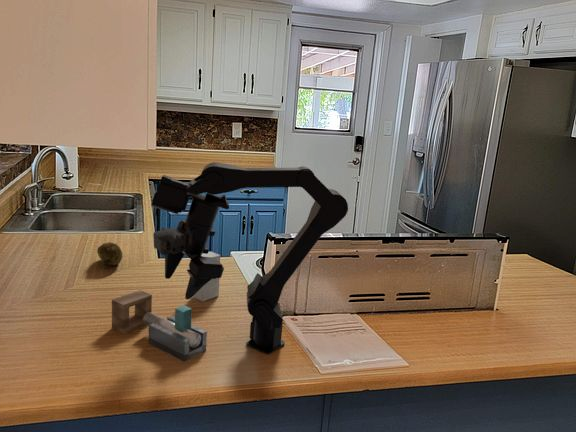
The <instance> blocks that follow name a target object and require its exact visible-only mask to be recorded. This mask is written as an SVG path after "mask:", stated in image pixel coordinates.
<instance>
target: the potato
mask: <svg viewBox="0 0 576 432" xmlns="http://www.w3.org/2000/svg"><path fill="white" fill-rule="evenodd" d="M96 251H97V252H96V253H97V256H98V257H99V258H100V260H101V261H102V262H103V264H105V265H110V266H111V265H112V266H116V265H118V264H120V263H121V261H122V259H123V256H124V255H123V251H122V249H121V247H120V246H119V245H118V244H117V243H113V242H105V243H103V244H101V245H100V246H98V247H97V249H96Z"/></svg>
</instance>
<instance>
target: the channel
mask: <svg viewBox="0 0 576 432" xmlns="http://www.w3.org/2000/svg"><path fill="white" fill-rule="evenodd" d="M166 319H167V320H169V321H171V322H174V323H175V316H174V315H169V316H167V317H166ZM189 330H191V331H194V332H196V333H198V334H200V335H201V342H200V344H199V345H198V346H197V347H196V348H193V347H190V346H189V339H186V338H184V337H182V336H180V335H178V334H176V333H174V332H171V331H169V330H167V329H165V328H163V327H161V326H158V325H156V324H154V323H152V324H150V325H149V327H148V340H147V341H148V345H150V346H152V347H154V348H156V349H158V350H160V351H162V352H164V353H166V354H167V355H170V356H172V357H173V358H176V359H178V360H180V361H182V362H184V363H185V362H187V361H189V360H190V359H192V358H195V357H196V356H199V355H200V354H201V353H204V352H205V351H207V342H208V341H207V338H208V331H207V330H205V329H202V328H200V327H198V326H196V325H193V324H192V323H191V328H190V329H189Z"/></svg>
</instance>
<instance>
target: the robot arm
mask: <svg viewBox="0 0 576 432" xmlns="http://www.w3.org/2000/svg"><path fill="white" fill-rule="evenodd" d="M249 188H256V189H257V188H302V189H303V190H304V191H305V192H306V193H307V194H308V195H309V197H311V198H312V199H313V201H314V202H313V203H312V206H311V208H310V210H309V214H308V217H307V220H306V222H305V223H304V225H302V227H301V228H300V230H299V231H298V232H297V234H296V235H295V236H294V237H293V239H292V240H291V242H290V243H289V244H288V245H287V248H285V250H284V252H282V254H281V255H280V257H279V258H278V259H277V260H276V262H275V263H274V265H273V266H272V267H271V269H270V271H268V272H267V273H265V274H264V275H261V274H260V273H256V274H255V277H254V278H253V279H252V281H251V283H249V284H248V285H247V286H246V287H247V288H246V289H247V292H246V305H247V307H246V308H247V312H248V313H249V315H250V316H251V317H252V318H251V322H250V325H249V326H250V328H249V340H248V341H245V342H246V343H245V345H246V346H249V347H250V348H253V349H255V350H258V351H260V352H262V353H264V354H266V355H269V354H271V353H273V352H275V351H277V350H278V349H280V348H281V347H283V346H285V343H286V341H284V340H282V337H283V324H284V323H283V322H284V319H283V314H282V309H281V306H280V303H279V301H280V297H281V295H282V291H283V289H284V287H285V285H286V284H287V283H288V281H289V280H290V278H292V275H293V274H294V273H295V272H296V271H297V269H298V268H299V266H300V265H301V263H302V262H303V261H304V259H306V257H307V255H308V254H309V253H310V252H311V251H312V249H313V248H314V247H315V245H316V244H317V242H318V241H319V239H320V238H321V237H322V236H323V235H324V234H325V233H327V232H329V231H330V230H331V229H333V228H334V227H336V226H337V225H338V224H339V223H340V222H341V221H342V220H343V219H344V218H345V217H346V215H348V212H349V205H348V202H347V200H346V198H345V197H344V196H343V195H342V194H340V193H339V192H338V191H337V190H335V189H332V188H328V187H327V186H325V184H324V183H323V182H322V181H321V180H320V179H318V177H317V176H316V175H315V173H314V172H313V171H312V170H311V169H310V168H309V167H308V166H304V165H303V166H299V167H243V166H237V165H234V164H228V163H223V162H217V161H215V162H209V163H208V164H207V165H205V166H204V167H203V168H202V170H201V173H200V175H198V176H197V177H195V178H193V179H191V180H190V181H188V183H186V182H183V181H180V180H177V179H175V178H172V177H171V176H168V175H165V174H163V175H162V176H161V178H160V180H159V184H158V186H157V188H156V190H155V191H154V195H153V198H152V201H151V205H150V206H151V207H152V208H156V209H159V210H162V211H166V212H169V213H172V214H175V215H179V214H182V212H186V209H187V207H188V204H189V201H190V198H191V199H192V200H191V201H190V202H191V203H190V206H189V209H188V212H187V215H186V218H185V220H184V219H180V221H179V222H178V225H177V227H171V228H170V227H169V228H166V227H163V228H162V229H160V230H156V231H154V232H153V248H154V249H156V250H157V251H158V252H159V254H160V255H162V256H164V278H165V279H168V280H170V279H171V277H172V276H173V275H174V273H175V271H176V270H177V268H178V267H179V264H180V263H181V261H182V260H183V258H184V256H185V255H186V256H187V257H188V258H189V259H190V261H189V264H188V266H189V267H188V269H186V271H187V274H188V275H189V279H188V282H187V283H188V284H187V288H186V291H185V296H184V298H185V299H186V300H190V299H192V298H194V297H193V296H194V295H195V294H196V293H197V292H198V291H199V290H200V289H201V288H202V287H203V286H204V285H205V284H206V283H208V282H209V281H210V280H211V279H216V278H219V279H221V278H222V277H223V273H224V271H225V268H224V266H223V264H222V263H221V261H220V262H218V261H217V260H216V259H215V258H214V257H202V256H201V255H202V253H204V254H208V252H210V249H209V248H208V246H207V244H208V241H209V238H210V236H211V237H215V234H216V231H215V230H214V229H213V227H214V224H215V221H216V218H217V216H218V212H219V209H220V208H222V209H225V210H229V209H230V203H229V200H227V199H228V198H227V196H226V193H232V192H235V191H238V190H242V189H249ZM204 193H205V195H204ZM220 194H222V195H220ZM217 195H220V196H217Z"/></svg>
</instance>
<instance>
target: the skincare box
mask: <svg viewBox="0 0 576 432" xmlns="http://www.w3.org/2000/svg"><path fill="white" fill-rule="evenodd" d="M201 256H202V257H214V258H215V259H216V260H217V261H218V262H220V263H221V254H218V253H216V252H213V251H210V250H209V251H208V254H204V253H202V255H201ZM219 295H220V278H216V279H211V280H210V281H209V282H208V283H206V284H205V285H204V286H203V287H202V288H201V289H200V290H199V291H198V292H197V293H196V294H195V295H194V296H193V297H192V298H194V299H196V300H198V301H200V302H202V303H203V302H205V301H209V300H211V299H213V298H216V297H219Z"/></svg>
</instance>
